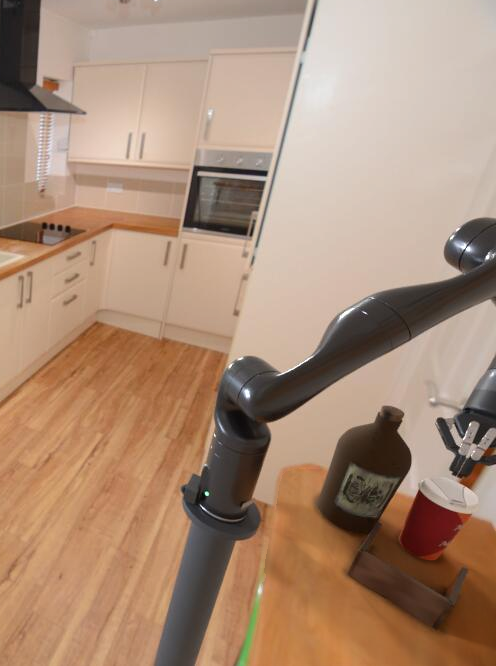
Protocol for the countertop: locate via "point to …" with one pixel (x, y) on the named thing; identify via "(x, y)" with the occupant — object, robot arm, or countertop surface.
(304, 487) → the countertop surface
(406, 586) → the holder
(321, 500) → the brown bottle
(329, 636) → the countertop surface
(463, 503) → the paper cup
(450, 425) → the robot arm
